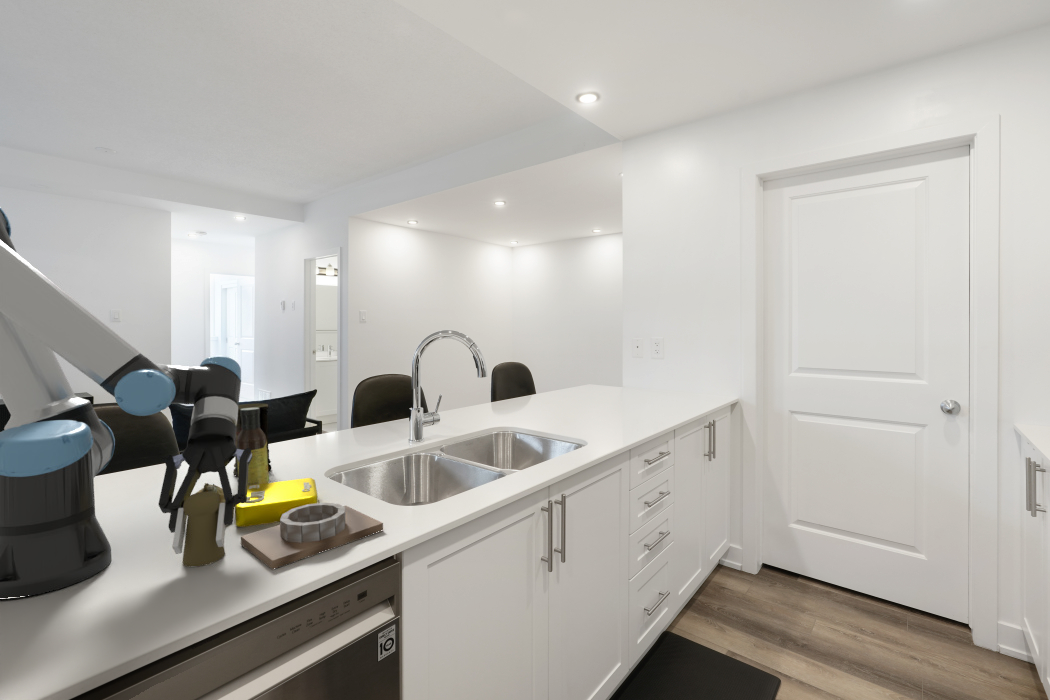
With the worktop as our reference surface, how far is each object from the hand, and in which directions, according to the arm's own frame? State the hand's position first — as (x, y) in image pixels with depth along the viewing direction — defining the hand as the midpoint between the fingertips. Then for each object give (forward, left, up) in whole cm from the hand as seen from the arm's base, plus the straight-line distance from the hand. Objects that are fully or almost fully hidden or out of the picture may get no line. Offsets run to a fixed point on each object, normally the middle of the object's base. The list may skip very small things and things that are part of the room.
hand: (198, 546), depth 80 cm
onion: (+8, +21, -4) cm, 23 cm away
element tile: (+19, +17, -4) cm, 26 cm away
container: (+26, +50, -4) cm, 57 cm away
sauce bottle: (+20, +32, -4) cm, 38 cm away
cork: (+2, +3, -4) cm, 5 cm away
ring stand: (+18, -3, -4) cm, 18 cm away
